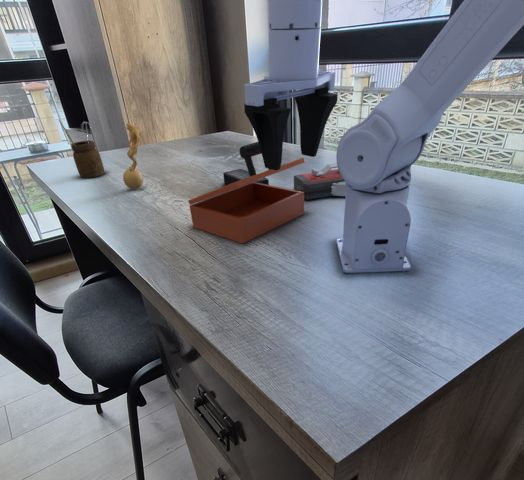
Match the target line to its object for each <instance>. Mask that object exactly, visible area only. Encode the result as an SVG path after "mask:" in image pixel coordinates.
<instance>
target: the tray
mask: <svg viewBox="0 0 524 480" xmlns="http://www.w3.org/2000/svg"><path fill="white" fill-rule="evenodd" d="M189 210H190V211H189V212H190V216H191V222H192V226H193V228H195V229H197V230H201V231H203V232H206V233H209V234H213V235H216V236H219V237H221V238H225V239H228V240H230V241H233V242H236V243H239V244H245V243H248V242H249V241H251V240H253V239H255V238H258V237H260V236H262V235H264V234H266V233H267V232H270V231H272V230H274V229H275V228H276V229H277V228H278V227H280V226H282V225H284V224H285V223H288V222H290V221H292V220H294V219H296V218H298V217H300V216H302V215H304V214H305V199H304V192H301V191H296V190H294V189H290V188H286V187H280V186H276V185H271V184H269V185H266V184H261V183H256V182H251V183H248V184H246V185H243V186H240V187H238V188H235V189H232V190H229V191H227V192H224V193H221V194H219V195H216V196H213V197H210V198H208V199H205V200H202V201H200V202H197V203H194V204H191V205H190V204H189Z"/></svg>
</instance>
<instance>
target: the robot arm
mask: <svg viewBox="0 0 524 480" xmlns="http://www.w3.org/2000/svg"><path fill="white" fill-rule="evenodd" d="M322 11H323V0H268V75H264V76H263V78H262V79H260V80H257V81H253V82H250V83H245V84H244V104H243V108H244V114H245V116H246V117H247V119H248V122H249V123H250V125H251V127H252V129H253V131H254V134H255V136H256V139H257V142H259V146H260V149H261V153H262V154H261V156H262V161H263V164H264V168H265V169H268V170H269V169H272V170H279V169H280V167H281V165H282V161H283V147H284V145H283V144H284V139H285V133H286V132H285V131H286V126H287V124H288V120H289V117H290V114H291V108H290V107H283V106H281V105H280V103H278V101H282V100H283V101H284V100H287V99H291V98H294V101H295V104H296V108H297V114H298V120H299V141H300V142H299V143H300V144H299V145H300V153H301V155H302V156H307V157H312V158H314V157H316V156H317V154H318V151H319V146H320V143H321V140H322V136H323V134H324V130H325V128H326V126H327V125H326V124H327V122H328V120H329V118H330V115H331V114H332V112H333V110H334V109H335V106H336V105H337V103H338V96H339V95H338V93H337V92H336V93H335V92H331V91H334V90H335V84H336V83H335V82H336V71H329V70H327V71H325V70H321V71H319V65H320V63H319V61H320V48H321V47H320V44H321V31H322V28H321V26H322V13H323V12H322ZM523 26H524V0H463V1H462V2H461V3H460V5H459V7H458V8H457V9H456V10H455V11H454V13H453V14H452V16H451V17H450V18H449V20H448V21H447V22H446V24H445V25H444V26H443V27H442V29H441V30H440V31H439V33H438V34H437V35H436V37H434V39H433V41H432V42H431V43H430V44H429V46H428V47H427V49H426V50H425V52H424V53H423V54H422V55H421V56H420V58H419V59H418V61H417V62H416V63H415V64H414V66H413V67H412V68H411V69H410V71H409V72H408V73H407V76H405V78H404V79H403V80H402V82H401V83H400V84H399V85H398V86H397V87H396V88H395V89H393V90H392V91H391V92H389V94H388V95H386V96H385V97H384V98H383V99H382V100H381V101H380V102H379V103H377V104H376V105H375V106H374V107H373V109H372V110H371V111H370V113H369V114H368V115H367V116H366V118H364V119H363V120H362V121H361V122H359V123H357V124H354V125H352V126H351V127H349V128H348V129H347V130H346V131H345V132H344V134H343V135H342V136H341V137H340V140H339V142H338V144H337V148H336V157H335V158H336V163H337V166H338V168H337V169H339V172H340V174H341V176H342V177H343V179H344V180H345V181H346V183H345V187H346V196H345V200H344V214H343V230H342V237H339V238H337V239H336V240H335V243H336V247H337V251H338V255H339V259H340V263H341V268H342V271H343V273H346V274H352V273H353V274H355V273H380V272H383V273H384V272H407V271H408V272H409V271H410V270H411V268H412V266H411V263H410V261H409V260H408V258H407V256H406V251H407V245H408V240H409V234H410V228H411V223H412V220H411V219H412V218H411V213H410V210H409V207H408V205H407V204H408V200H409V199H408V198H409V193H410V186H411V181H412V171H411V168H412V166H413V165H414V164H415V163H416V162H417V161H418V160H419V159H420V157H421V156H422V154H423V152H424V149H425V146H426V143H427V141H428V139H429V137H430V136H431V134H432V133H433V132H434V131H435V130H436V129H437V127H439V125H440V124H441V121H442V118H443V115H444V113H445V112H446V111H447V110H448V109H449V108H450V106H451V105H453V103H454V102H455V101H456V100H457V99H458V97H459V96H460V95H461V94H462V93H463V92H464V91H465V90H466V89H467V88H468V87H469V85H470V84H471V83H472V82H473V81H474V80H475V79H476V78H477V77H478V76H479V74H481V72H483V70H484V69H485V68H486V67H487V66H488V65H489V63H490V62H491V61H492V60H493V59H494V58H495V57H496V56H497V55H498V54H499V53H500V51H501V50H502V49H503V48H504V47H505V46H506V45H507V44H508V42H510V40H511V39H512V38H513V37H514V36H515V35H516V34H517V33H518V32H519V31H520V30H521V28H522V27H523Z"/></svg>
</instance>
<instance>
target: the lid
mask: <svg viewBox="0 0 524 480" xmlns="http://www.w3.org/2000/svg"><path fill="white" fill-rule="evenodd" d="M238 151H239V156H240V157H241V158H242V159H243V160H244V161H245V165H246V168H247V171H248V172H249V175H250V177H248V178H245V179H243V180H240V181H237V182H234V183H232V184H229V185H227V186H226V185H224V186H221V187H219V188H217V189H214V190H212V191H209V192H206V193H204V194H201V195H199V196H196V197H194V198H191V199H189V200H188V204H189V206H190V205H192V204H195V203H198V202H200V201H203V200H206V199H208V198H211V197H214V196H216V195H219V194H222V193H224V192H227V191H230V190H232V189H235V188H237V187H240V186H243V185H245V184H248V183H251V182H254V181H256V180H259V179H262V178H264V177H265V178H267V177H270V176H272V175H275V174H277V173H280V172H283V171H285V170H288V169H291V168H293V167H296V166H299V165H302V164H305V161H306V160H305V158H304V157H301V158H297V159H295V160H292V161H290V162H287V163H285V164H281V167H280V169H279V170H272V169H268V170H265V171H262V172H259V173H257V172H256V169H255V165H254V163H253V159H252V158H253V157H256V156H258V155H262V153H261V149H260V146H259V142H258V141H256V142H251V143H248V144H245V145H241V146H240V148H239V150H238Z"/></svg>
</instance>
